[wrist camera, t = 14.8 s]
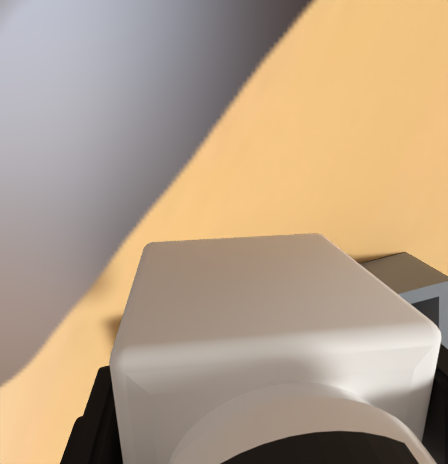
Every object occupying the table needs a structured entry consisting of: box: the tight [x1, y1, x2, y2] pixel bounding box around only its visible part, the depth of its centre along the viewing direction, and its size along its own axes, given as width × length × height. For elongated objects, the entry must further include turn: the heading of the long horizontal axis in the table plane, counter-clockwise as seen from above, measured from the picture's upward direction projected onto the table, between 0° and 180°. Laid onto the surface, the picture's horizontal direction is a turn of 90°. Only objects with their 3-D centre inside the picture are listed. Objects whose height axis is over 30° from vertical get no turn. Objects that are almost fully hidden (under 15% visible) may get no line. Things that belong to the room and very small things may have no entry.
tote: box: [360, 252, 448, 349], centre depth 27 cm, size 19×14×5 cm
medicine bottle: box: [109, 233, 441, 464], centre depth 9 cm, size 7×7×12 cm
